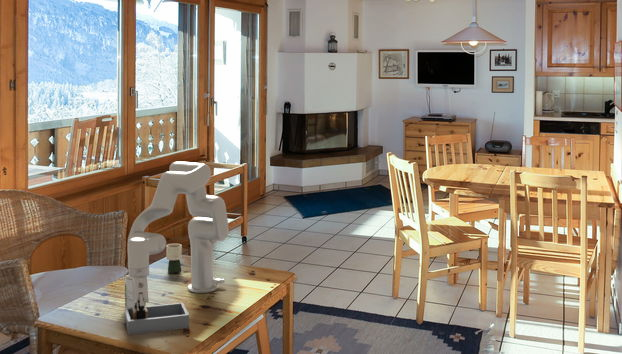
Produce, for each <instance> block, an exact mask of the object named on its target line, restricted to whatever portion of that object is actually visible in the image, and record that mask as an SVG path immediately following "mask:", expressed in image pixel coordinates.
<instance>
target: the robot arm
mask: <svg viewBox="0 0 622 354" xmlns="http://www.w3.org/2000/svg"><path fill="white" fill-rule="evenodd" d="M211 176H212V170H211V167H210V166H209V165H208V164H206V163H203V162H202V163H201V162H192V161H191V162H190V161H174V162H171V164H170V165H169V171H165V172H163V173H162V174H161V176H160V178H159V181H158V183H157V187H156V190H155V193H154V195H153V199H152V201H151V203H150V205H149V206H148V207H146V208H145V209H144V210H143V211H142V212H141V213H140V214H139V215H138V216H137V217H136V218H135V220H134V221H133V222H132V226H131V227H130V231H129V234H128V237H127V245H126V246H127V267H128V269H127V271H128V274H127V275H129V276H130V277H132V290H133V297H134V301H135V308H137V311H136V315H137V319H146V313H145V302H146V303H149V287H148V276H150V255H156V254H160V253H161V252H163V251H164V250H165V249H166V246H167V240H166V238H165V237H164V235H162V234H160V233H154V232H146V231H145V229H146V228H147V226H148V225H150V224H151V223H152V222H154V221H156V220H159V219H161V218H164V217H167V216H170V214H172V213H173V210H174V208H175V204H176V201H177V199H178V195H179V194H182V195H185V197H186V198H185V199H186V203H187V210H188V213H189V214H190V215H191V216H192V217H193V218H192V219H190V220H189V222H188V224H187V231H188V238H189V241H190V242H189V243H190V244H189V245H190V275H191V276H190V280H191V283H190V284H187V290H188V291H189V292H190V293H197V294H205V293H206V294H207V293H211V292H214V291H216V290H217V289H218V285H220V284H225V279H224V278H222V279H221V278H220V277H218V278H215V276H214V248H213V245H212V242H224V241H225V240H226V239H227V238H228V237H229V233H230V231H229V221H228V220H229V219H228V212H227V207H226V206H227V205H226V202H225V200H224V198H222V197H221V196H219V195H212V194H211V195H209V194H208V193H207V188H206V185H207V184H208V182H209V181H210V179H211V178H212V177H211ZM144 300H145V302H144ZM136 304H137V305H136Z"/></svg>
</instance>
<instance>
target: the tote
mask: <svg viewBox="0 0 622 354" xmlns="http://www.w3.org/2000/svg"><path fill="white" fill-rule="evenodd" d="M145 307H146V308H147V311H148V318H146V319H137V320H133V309H132V308H125V307H124V322H125V326H126V330H127V334H128V336H129V335H137V334H145V333H155V332H164V331H171V330H180V329H189V328H190V314H189V312H188V309H187V308H186V306H185V304H184V302H176V303H166V304H165V303H163V304H155V305H147V306H145ZM134 308H135V307H134Z"/></svg>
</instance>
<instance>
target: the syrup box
mask: <svg viewBox="0 0 622 354" xmlns="http://www.w3.org/2000/svg"><path fill="white" fill-rule="evenodd" d="M144 302H145V300H144ZM146 303H147V302H145V306H146V305H147V304H146ZM124 305H125V306H124V309H125V308H134V307H135V301H134V297H133V290H132V277H130V276H129V275H128V274H126V275H124ZM136 305H137V304H136Z"/></svg>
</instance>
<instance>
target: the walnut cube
mask: <svg viewBox="0 0 622 354" xmlns="http://www.w3.org/2000/svg"><path fill="white" fill-rule="evenodd" d="M132 309H133V320H137V315H136V311H137V308H132ZM145 313H146V318H148V311H147V308H146V307H145Z"/></svg>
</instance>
